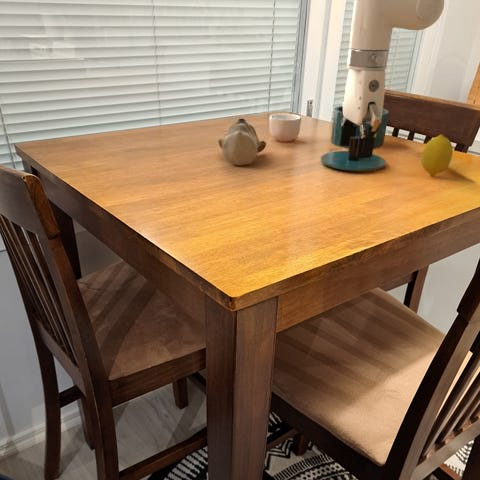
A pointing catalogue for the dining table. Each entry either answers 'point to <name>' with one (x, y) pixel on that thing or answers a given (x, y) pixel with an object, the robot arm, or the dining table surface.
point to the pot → (357, 128)
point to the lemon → (437, 155)
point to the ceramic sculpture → (241, 143)
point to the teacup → (284, 126)
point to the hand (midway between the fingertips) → (354, 151)
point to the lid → (352, 159)
